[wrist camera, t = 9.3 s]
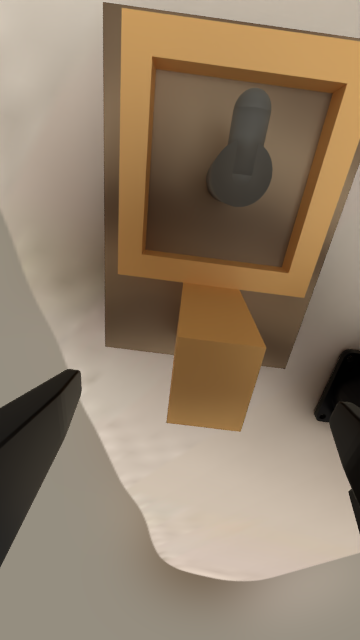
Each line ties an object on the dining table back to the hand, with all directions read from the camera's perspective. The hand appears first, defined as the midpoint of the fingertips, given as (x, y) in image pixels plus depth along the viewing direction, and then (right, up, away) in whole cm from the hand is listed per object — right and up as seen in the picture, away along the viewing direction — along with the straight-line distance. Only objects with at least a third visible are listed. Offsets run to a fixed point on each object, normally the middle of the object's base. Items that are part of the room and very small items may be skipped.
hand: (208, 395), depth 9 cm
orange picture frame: (+1, +8, +5) cm, 9 cm away
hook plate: (+1, +8, +6) cm, 10 cm away
